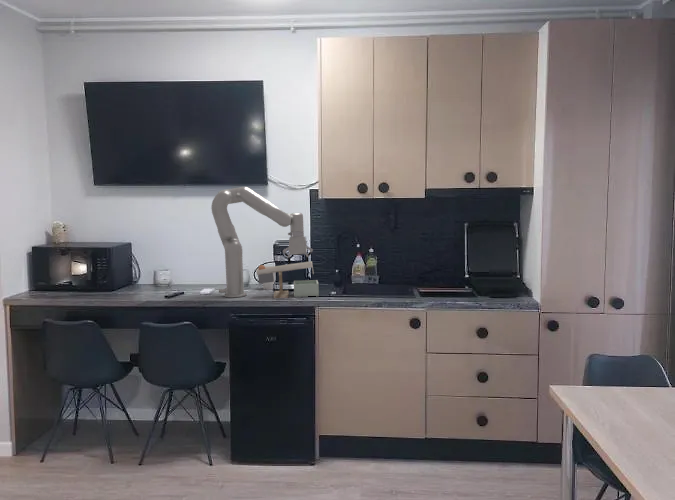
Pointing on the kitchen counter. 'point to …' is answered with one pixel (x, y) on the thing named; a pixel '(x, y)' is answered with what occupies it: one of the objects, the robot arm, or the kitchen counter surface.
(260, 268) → the ball
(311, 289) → the cup
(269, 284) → the foam cup
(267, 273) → the tipping trough
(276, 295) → the lever stand
